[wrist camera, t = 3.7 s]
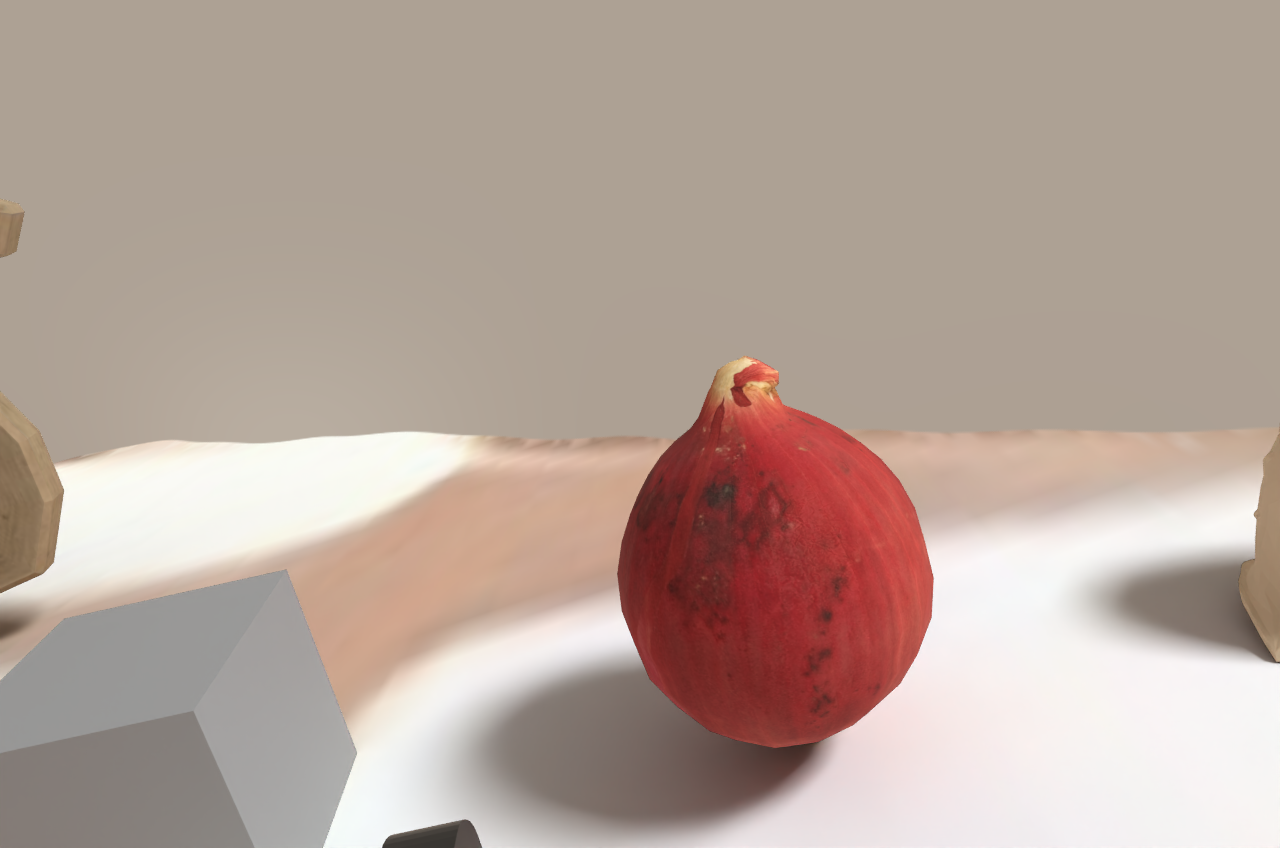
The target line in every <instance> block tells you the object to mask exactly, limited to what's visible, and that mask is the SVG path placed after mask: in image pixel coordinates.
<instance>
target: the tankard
mask: <svg viewBox="0 0 1280 848" xmlns="http://www.w3.org/2000/svg"><path fill="white" fill-rule="evenodd" d="M23 217H24V211H23V209H22V208H21V206H20V205H19V204H18V203H14V202H10V201H7V200H3V199H0V257H4V256H8V255H10V254H12V253H14V252H16V251H17V245H18V241H19V236H20V231H21V227H22V222H23ZM63 494H64V489H63V486H62V484H61V482H60V479H59V477H58V474H57V472H56V470H55V467H54V465H53V462H52V460H51V458H50V455H49V453H48V450H47V448H46V446H45V443H44V441H43V438H42V436H41V433H40V431H39V430H38V429H37V428H36V427H35V426H34V425H33V424H32V423H31V422H30V421H29V420H28V419H27V418H26V417H25V416H24V415H23V414H22V413H21V412H20V411H19V410H18V409H17V408H16V407H15V406H14V405H13V404H12V403H11V402H10V401H9V400H8V399H7V398H6V397H5V396H4V395H3V394H2V393H1V391H0V593H2V592H4V591H6V590H9V589H11V588H13V587H15V586H17V585H20V584H22V583H24V582H26V581H28V580H31V579H33V578H35V577H37V576H39V575H42V574H43V573H44V572H45V571H46V570H47V569H48V568H49V567H50V566H51V565H52V564H53V563H54V557H55V550H56V543H57V536H58V529H59V522H60V515H61V508H62V501H63Z"/></svg>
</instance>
